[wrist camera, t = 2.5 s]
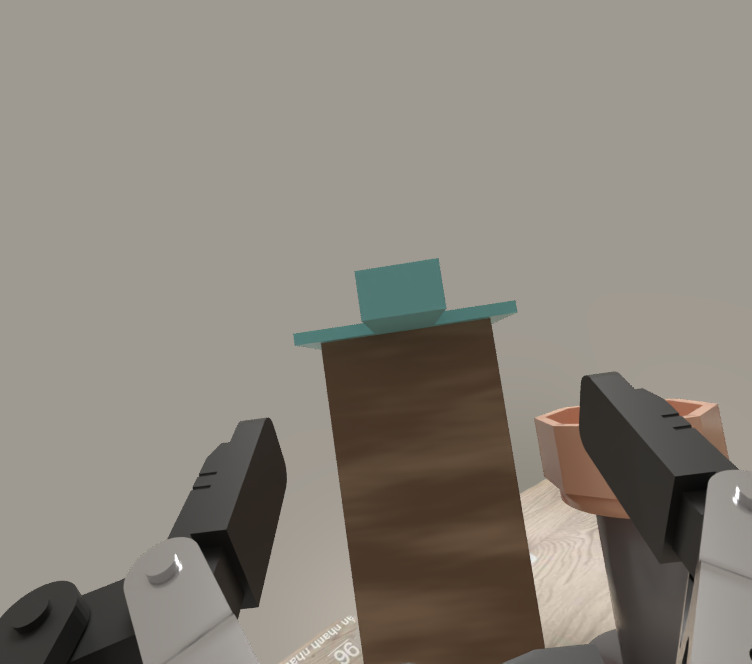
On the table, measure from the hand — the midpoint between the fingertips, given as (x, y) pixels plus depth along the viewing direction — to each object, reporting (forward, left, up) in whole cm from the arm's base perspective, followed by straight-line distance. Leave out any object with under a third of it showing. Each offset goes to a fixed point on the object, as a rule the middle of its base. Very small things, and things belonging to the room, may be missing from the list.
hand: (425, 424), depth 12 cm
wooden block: (-18, -18, -26) cm, 37 cm away
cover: (-15, -15, +4) cm, 21 cm away
